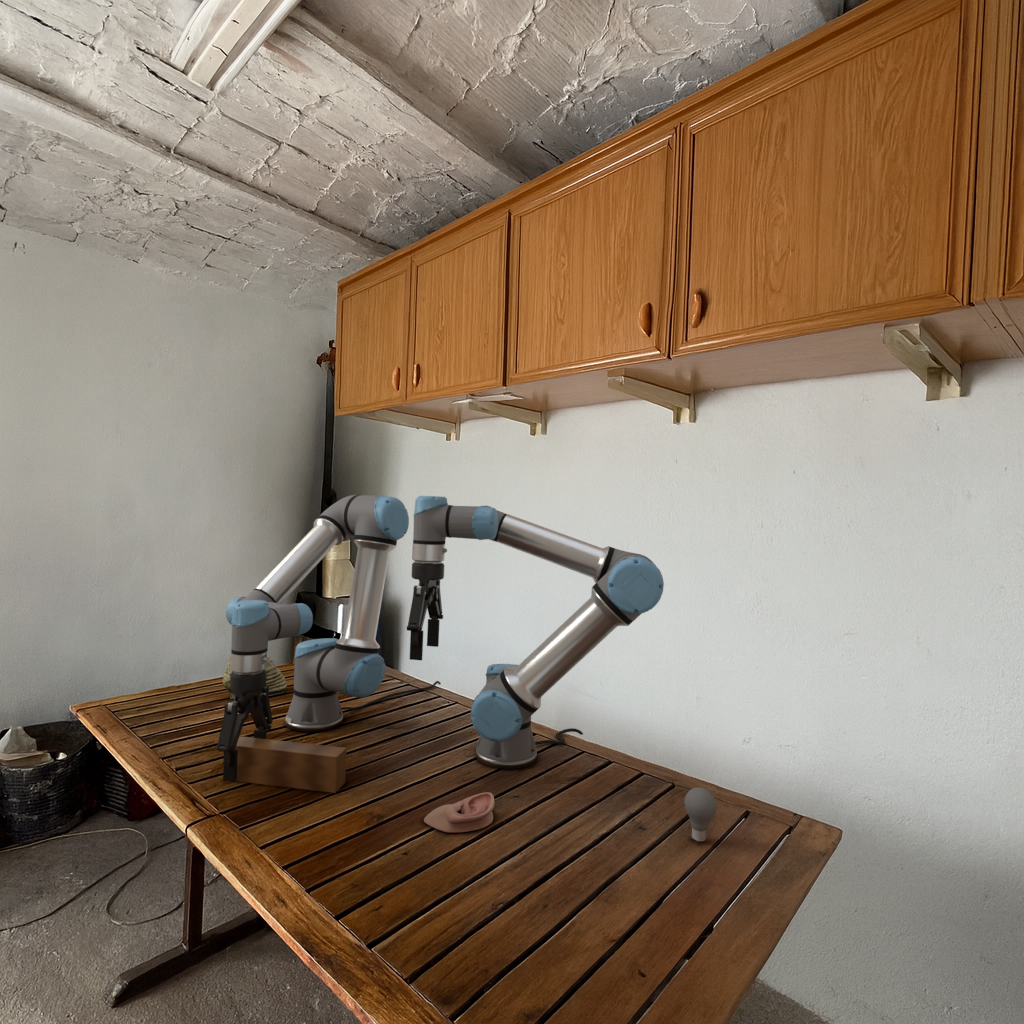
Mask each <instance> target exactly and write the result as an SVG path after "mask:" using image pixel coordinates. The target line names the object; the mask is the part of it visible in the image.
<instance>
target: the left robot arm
mask: <svg viewBox="0 0 1024 1024" xmlns="http://www.w3.org/2000/svg"><path fill="white" fill-rule="evenodd" d="M409 524H410V517H409V512H408V509H407V508H406V505H405V504H404V502H403V501H402V500H401V499H399V498H397V497H394V496H388V495H383V494H382V495H370V494H369V495H368V494H366V495H365V494H351V495H347V496H345V497H343V498H341V499H339V500H338V501H336V502H334V503H333V504H331V505H330V506H329V507H327V508H326V509H325V510H324V511H323V512H322V513H321V514H320V515H319V516H318V517H317V518H316V519H315V520H314V521H313V526H312V528H311V529H310V530H309V532H307V534H305V535H304V536H303V538H301V540H300V541H299V542H297V543H296V545H295V546H294V547H292V548H291V550H290V551H289V552H288V553H287V554H286V555H285V556H284V557H283V558H282V560H281V561H279V563H277V565H276V566H274V567H273V569H271V571H270V572H269V573H268V574H267V575H266V576H265V577H264V578H263V579H262V580H261V581H260V582H259V583H258V584H257V585H256V586H255V587H254V588H253V590H251V592H249V594H248V595H246V596H238V597H234V598H232V599H231V601H229V602H228V604H227V606H226V609H225V618H226V620H227V622H228V623H229V624H230V625H231V644H230V645H231V647H230V648H231V649H230V650H231V652H230V657H231V664H230V670H231V671H233V672H232V673H231V674H230V689H231V690H232V691H234V693H235V696H234V698H233V700H232V701H231V702H230V701H226V702H225V703H224V706H223V707H224V708H223V709H224V711H223V718H222V722H221V727H220V731H219V736H218V741H217V745H216V751H217V752H223V768H222V769H223V772H222V780H223V781H231V782H236V781H235V780H237V758H238V750H237V749H235V748H236V745H237V742H238V739H239V737H240V736H241V733H242V731H243V727H244V723H245V721H246V720H248V718H249V716H251V719H252V721H253V724H254V726H255V728H256V729H254V730H253V738H261V739H267V731H271V730H272V724H273V714H272V707H271V703H270V698H269V697H270V696H269V687H267V686H266V677H267V672H266V671H265V669H266V668H267V660H268V658H267V655H268V651H269V641H271V642H272V641H275V640H279V639H280V640H281V639H285V638H291V637H297V636H300V635H303V634H306V633H307V632H308V631H310V630H311V628H312V626H313V621H314V619H313V618H314V617H313V612H312V610H311V607H309V606H308V605H307V604H305V603H302V602H300V603H296V602H293V603H290V604H285V603H284V602H285V600H286V599H287V598H288V597H289V596H290V595H291V594H292V593H293V592H294V591H295V590H296V589H297V587H298V586H299V585H301V583H302V582H303V581H304V580H305V578H306V577H308V575H309V574H310V573H311V572H312V571H313V570H314V568H315V567H317V565H318V564H319V563H320V562H321V561H322V560H323V559H324V558H325V557H326V556H327V554H328V553H329V552H330V551H331V550H332V549H333V548H334V547H335V546H340V545H341V544H342V543H344V541H345V540H347V539H348V538H351V537H353V543H354V544H355V545H356V547H357V553H356V558H355V563H354V564H355V565H354V570H353V576H352V580H351V581H352V583H351V588H350V592H349V599H348V604H347V611H346V616H345V623H344V629H343V633H342V634H343V635H342V636H341V637H340V638H339V639H338V638H335V637H333V638H332V637H329V638H313V639H308V640H304V641H302V642H299V643H298V644H297V645H296V646H295V652H294V653H295V654H294V657H293V659H294V660H293V662H294V663H293V665H294V667H293V695H292V696H293V697H292V699H291V702H290V704H289V708H288V711H287V713H286V715H285V726H286V728H287V729H289V730H291V731H294V732H295V731H296V732H301V733H316V732H325V731H329V730H332V729H335V728H337V727H339V726H340V725H342V723H343V722H344V714H343V711H345V710H346V711H347V710H349V711H353V710H359V709H364V708H366V707H368V706H370V705H372V704H375V703H377V702H379V701H383V700H385V699H387V698H391V697H395V696H398V695H404V694H409V693H415V692H419V691H426V690H429V689H432V688H434V687H436V685H437V684H438V685H442V683H441V681H439V680H436V681H434V683H433V684H432V685H431V684H430V685H429V686H425V687H419V688H413V689H408V690H403V691H397V692H394V693H393V692H392V693H390V694H386V695H383V696H381V697H379V698H376V699H373V700H371V701H368V702H366V703H364V704H361V705H358V706H341V702H340V699H339V695H338V694H342V695H345V696H348V697H351V698H352V697H353V698H360V699H361V698H367V697H370V696H371V695H372V694H374V693H375V692H376V691H377V689H379V688H380V686H381V685H382V683H383V681H384V678H385V674H386V667H387V666H386V663H385V659H384V658H383V657H382V656H381V655H380V648H381V646H380V644H379V643H378V642H377V640H376V637H377V632H378V625H379V619H380V614H381V608H382V601H383V595H384V590H385V589H384V588H385V583H386V576H387V572H388V571H387V570H388V565H389V559H390V553H391V552H392V551H393V550H395V549H396V548H397V544H398V540H400V539H403V538H404V537H405V535H406V534H407V532H408V531H409V527H410V525H409ZM231 744H232V745H231Z"/></svg>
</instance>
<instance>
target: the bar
mask: <svg viewBox="0 0 1024 1024" xmlns="http://www.w3.org/2000/svg"><path fill="white" fill-rule="evenodd" d="M231 745H232V744H231ZM235 749H237V750H238V758H237V780H235V781H234V782H238V783H239V782H240V783H248V784H257V785H264V786H272V787H280V788H290V789H298V790H306V791H313V792H314V791H315V792H321V793H323V792H324V793H331V794H336V793H337V792H338V791H339V790H340V789H341V788H342V787H343V786H344V785H345V783H346V774H347V773H346V772H347V770H346V769H347V747H343V746H333V745H325V744H317V743H316V744H315V743H305V742H297V741H295V742H294V741H289V740H288V741H286V740H278V739H269V738H266V739H261V738H254V737H250V736H241V735H240V736H239V739H238V742H237V745H236V748H235Z"/></svg>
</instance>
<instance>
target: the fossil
mask: <svg viewBox="0 0 1024 1024" xmlns="http://www.w3.org/2000/svg"><path fill="white" fill-rule="evenodd" d="M267 658H268V660H267V668H266V669H265V671H266V672H267V677H266V686H267V687H269V697H271V696H275V695H281V694H284V693H285V691H286V689H287V687H288V686H287V680H286V678H285V676H284V674H283V673H282V672H281V669H279V668H278V667H277V665H276V663H275V662H274V660H273V659H272V658H271V657H270V656H269V655H268V654H267ZM230 664H231V656H230V657H229V659H228V660H227V663H226V666H225V668H224V671H223V675H222V676H223V677H222V685H223V687H224V688H225V690H226V691H228V693H229V698H230V699H234V696H235V693H234V691H232V690H231V689H230V674H231V673H232V672H233V671H231V670H230Z"/></svg>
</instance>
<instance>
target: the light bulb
mask: <svg viewBox="0 0 1024 1024" xmlns="http://www.w3.org/2000/svg"><path fill="white" fill-rule="evenodd" d="M683 800H684V801H683V803H684V810H685V811H686V813H687V815H688V817H689V820H690V821H689V822H690V826H691V838H692V839H693V840H695V841H696V842H704V841H706V839H707V837H706V835H707V830H708V828H709V823H710V821H712V819H713V818H714V816H715V815H716V812H717V807H718V805H717V801H716V798H715V797H714V795H713V794H712V792H711V791H710V790H708V789H706V788H705V787H694V788H691V789H690V790H689V791H688V792H687V793H686V794H685V797H684V799H683Z"/></svg>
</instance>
